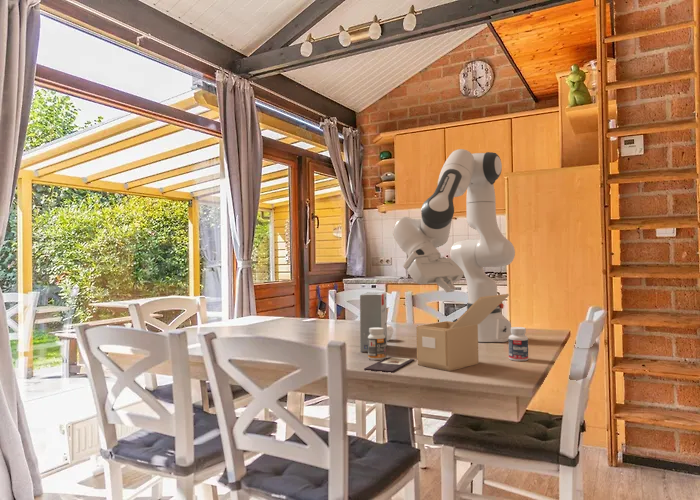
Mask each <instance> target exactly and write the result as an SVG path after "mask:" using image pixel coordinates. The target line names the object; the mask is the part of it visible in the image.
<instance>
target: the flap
mask: <svg viewBox="0 0 700 500" xmlns="http://www.w3.org/2000/svg"><path fill="white" fill-rule="evenodd" d="M509 296H510V294H509V293H503V294H497V295H494V296H485V297H480V298H479V299H478V300H477V301H476V302H475V303H474V304H473V305H472V306H471V307H470V308H469V309H468V310H467V309H466V311H465V312H463V314H462V315H460V316H459V317H458V318H457V320H456V321H454V322H455V323H454V324H453V325H452V326H451V327H450V328H451V329H453V328H459V327H464V326H470V325H476V324H480V323H481V322H482V321H483V320H484V319H485V318H486V317H487V316H488V315H489V314H490V313H491V312H492V311H493V310H494V309H495V308H496V307H497V306H498V305H500V304H501V303H503V302H504V301H505V300H506V299H507V298H508V297H509Z"/></svg>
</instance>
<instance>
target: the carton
mask: <svg viewBox="0 0 700 500" xmlns="http://www.w3.org/2000/svg"><path fill="white" fill-rule="evenodd" d="M455 322H456V321H449V320H445V321H439V322H432V323H425V324H419V325H417V326H416V329H415V330H416V360H417V365H418V366H421V367H426V368H430V369H437V370H442V371H448V372H452V371H455V370H459V369H462V368H463V369H464V368H468V367H471V366H476V365H479V363H480V362H479V342H478V324H476V325H470V326H464V327H459V328H453V329H451V328H450V327H451V326H452V325H453V324H454V323H455Z"/></svg>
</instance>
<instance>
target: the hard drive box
mask: <svg viewBox="0 0 700 500" xmlns="http://www.w3.org/2000/svg"><path fill="white" fill-rule="evenodd" d="M387 311H388V309H387V292H383V291H382V292H379V291H378V292H376V291H375V292H374V291H373V292H365V293H362V294H360V296H359V350H360V351H359V352H364V353H365V352H367V353H368V336H369V335H370V332H369V328H375V327H379V328H383V329H384V332H383V335H385V342H386V347H387V346H388V341H387V325H388V322H387V321H388V317H387Z"/></svg>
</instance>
